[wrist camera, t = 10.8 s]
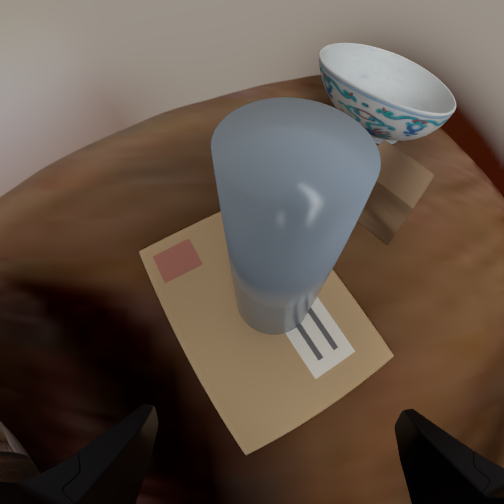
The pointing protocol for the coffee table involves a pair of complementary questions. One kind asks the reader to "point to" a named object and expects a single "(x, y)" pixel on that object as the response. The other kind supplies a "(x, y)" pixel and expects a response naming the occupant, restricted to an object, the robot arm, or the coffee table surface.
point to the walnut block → (393, 192)
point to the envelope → (258, 340)
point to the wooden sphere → (14, 459)
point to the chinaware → (384, 91)
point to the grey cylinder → (288, 201)
